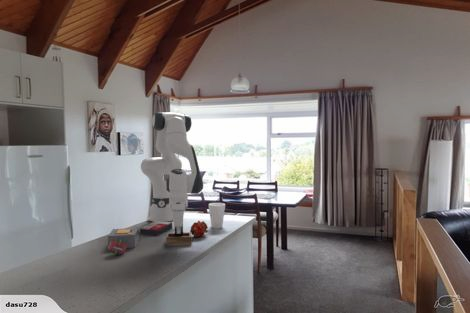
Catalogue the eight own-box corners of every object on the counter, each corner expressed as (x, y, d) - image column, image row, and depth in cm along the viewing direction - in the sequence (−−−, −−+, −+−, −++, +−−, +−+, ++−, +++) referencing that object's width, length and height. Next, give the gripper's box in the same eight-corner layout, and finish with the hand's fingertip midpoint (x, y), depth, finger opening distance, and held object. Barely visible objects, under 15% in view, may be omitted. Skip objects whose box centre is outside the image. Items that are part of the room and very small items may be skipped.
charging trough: (166, 241, 169) (166, 233, 169) (191, 240, 171) (191, 232, 170) (165, 246, 161) (165, 237, 161) (191, 244, 163) (191, 236, 163)
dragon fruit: (206, 236, 183) (194, 245, 173) (194, 225, 185) (182, 234, 175) (213, 225, 180) (202, 234, 169) (201, 214, 182) (189, 223, 171)
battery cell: (174, 237, 168) (174, 217, 167) (183, 236, 168) (183, 216, 168) (174, 239, 164) (174, 219, 163) (183, 239, 164) (182, 218, 164)
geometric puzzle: (130, 245, 155) (119, 232, 153) (130, 250, 149) (118, 236, 147) (117, 256, 154) (105, 243, 152) (117, 261, 147) (104, 248, 145)
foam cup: (206, 225, 199) (206, 203, 198) (221, 224, 203) (221, 202, 202) (212, 229, 190) (212, 206, 190) (227, 227, 194) (227, 205, 194)
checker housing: (113, 241, 169) (113, 228, 169) (138, 240, 171) (138, 227, 171) (108, 248, 158) (107, 235, 157) (135, 247, 159) (134, 233, 159)
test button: (118, 235, 167) (118, 229, 166) (131, 235, 168) (131, 229, 167) (115, 239, 161) (115, 232, 161) (129, 238, 162) (129, 232, 161)
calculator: (139, 227, 182) (155, 219, 196) (139, 235, 183) (155, 227, 197) (157, 229, 178) (172, 221, 192) (157, 237, 179) (172, 229, 193)
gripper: (172, 199, 175) (172, 226, 176) (171, 207, 155) (171, 237, 155) (185, 199, 176) (185, 225, 177) (185, 207, 156) (185, 237, 156)
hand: (178, 231), depth 166 cm, fingers closed on battery cell, 4 cm apart
